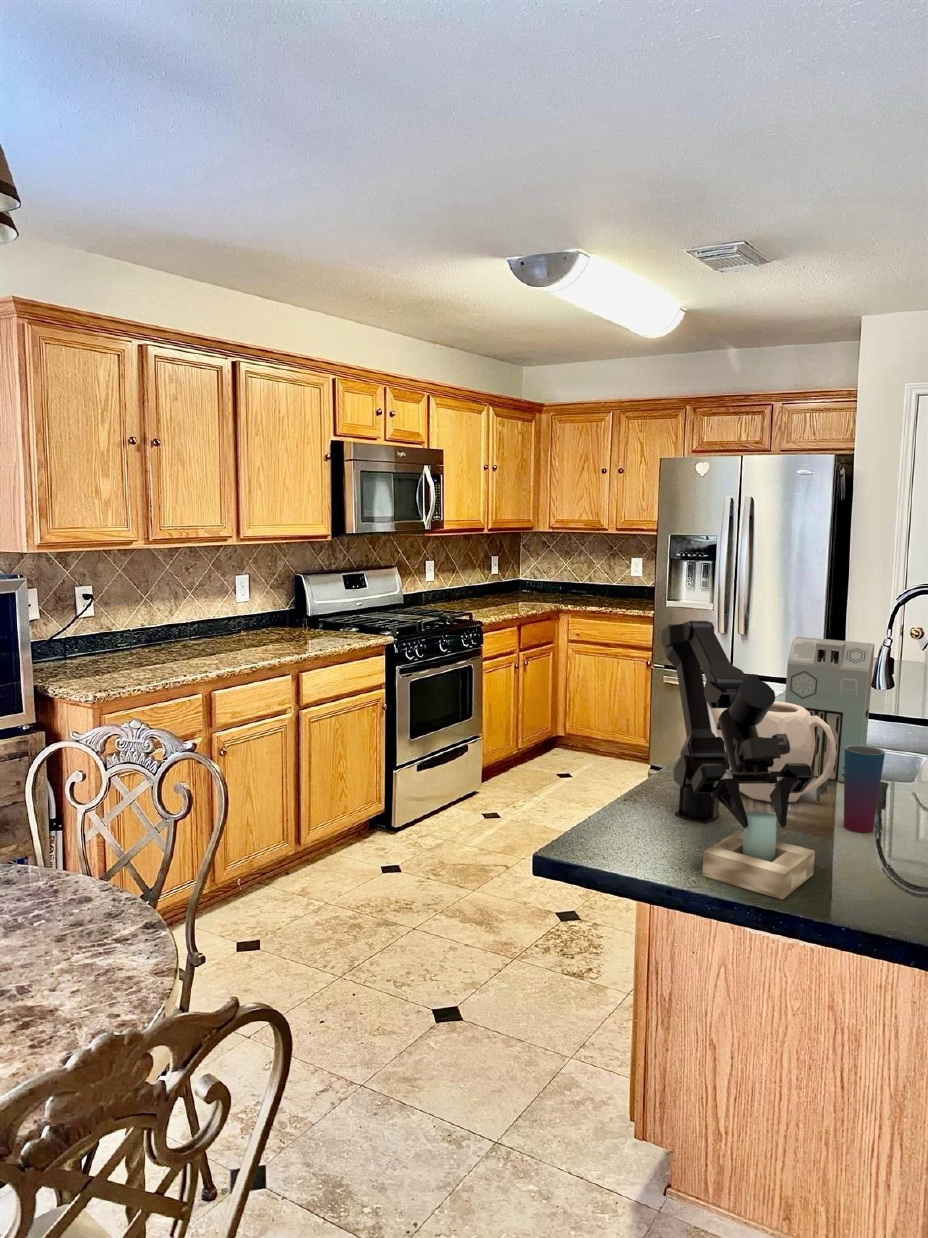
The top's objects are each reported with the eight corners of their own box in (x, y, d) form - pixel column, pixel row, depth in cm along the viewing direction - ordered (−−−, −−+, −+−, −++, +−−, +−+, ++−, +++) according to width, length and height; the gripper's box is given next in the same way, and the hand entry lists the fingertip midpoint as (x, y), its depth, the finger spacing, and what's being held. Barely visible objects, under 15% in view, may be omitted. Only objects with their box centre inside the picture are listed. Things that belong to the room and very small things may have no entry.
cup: (882, 836, 165) (889, 756, 164) (842, 832, 167) (849, 752, 165) (873, 823, 172) (880, 746, 170) (835, 820, 173) (841, 743, 172)
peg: (735, 867, 148) (737, 812, 147) (759, 863, 150) (761, 809, 149) (756, 877, 143) (758, 821, 142) (781, 873, 145) (783, 818, 144)
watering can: (709, 774, 202) (715, 690, 199) (838, 796, 188) (845, 707, 186) (688, 792, 188) (693, 702, 186) (824, 818, 175) (832, 721, 172)
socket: (702, 875, 146) (703, 851, 145) (736, 853, 155) (737, 830, 155) (782, 899, 137) (784, 874, 137) (813, 874, 147) (814, 850, 147)
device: (779, 773, 204) (789, 640, 200) (786, 765, 210) (795, 636, 207) (859, 786, 196) (870, 648, 192) (863, 777, 202) (874, 643, 199)
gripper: (702, 715, 146) (724, 804, 137) (813, 715, 148) (842, 803, 139) (682, 749, 155) (702, 836, 145) (788, 749, 157) (813, 834, 147)
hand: (765, 827), depth 144 cm, fingers open, 6 cm apart
